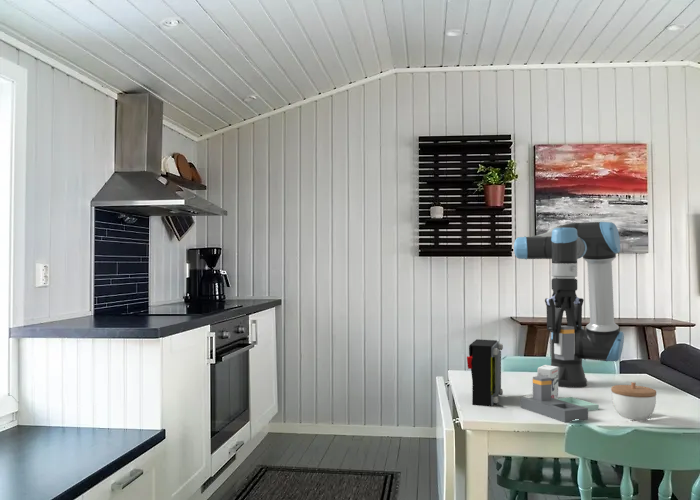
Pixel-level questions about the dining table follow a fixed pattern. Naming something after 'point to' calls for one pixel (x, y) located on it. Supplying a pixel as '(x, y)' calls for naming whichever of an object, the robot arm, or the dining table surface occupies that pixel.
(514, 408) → the dining table surface
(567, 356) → the plug
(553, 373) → the ink box
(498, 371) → the electrical component
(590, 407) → the tray
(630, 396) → the lidded bowl
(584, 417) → the pdu strip
